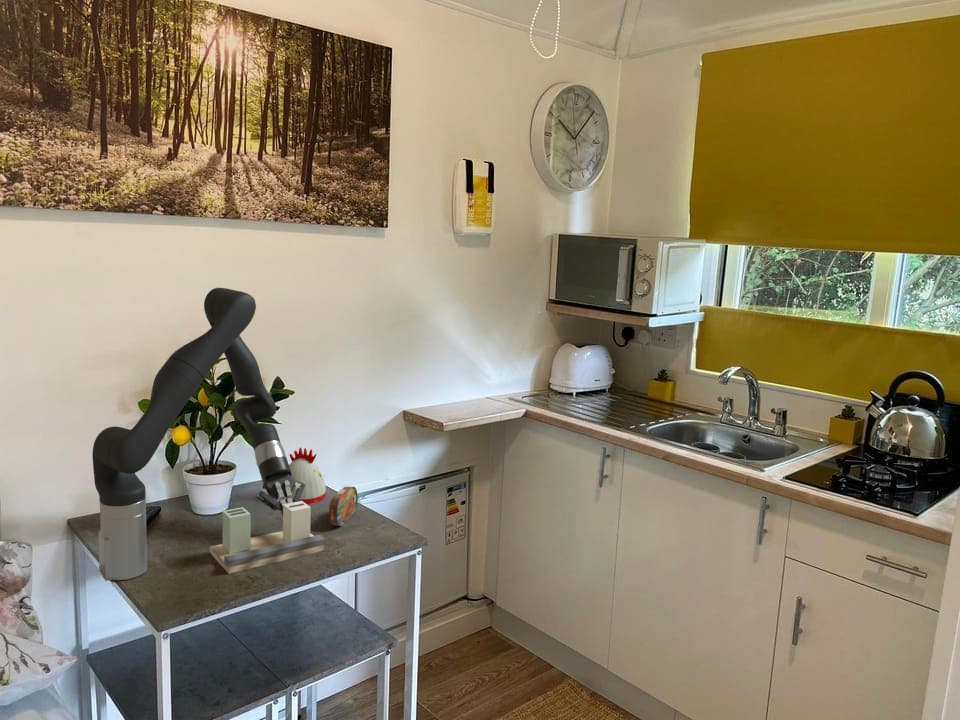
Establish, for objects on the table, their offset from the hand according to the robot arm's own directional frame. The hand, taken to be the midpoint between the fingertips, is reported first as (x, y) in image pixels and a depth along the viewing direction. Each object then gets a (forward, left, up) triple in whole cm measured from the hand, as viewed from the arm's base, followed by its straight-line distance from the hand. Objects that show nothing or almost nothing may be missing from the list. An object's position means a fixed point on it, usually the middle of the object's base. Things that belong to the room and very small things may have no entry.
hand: (291, 522), depth 184 cm
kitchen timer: (+16, +28, -6) cm, 33 cm away
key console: (-7, -2, -5) cm, 9 cm away
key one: (0, -3, -4) cm, 5 cm away
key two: (-14, 0, -4) cm, 14 cm away
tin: (+18, +6, -6) cm, 20 cm away
